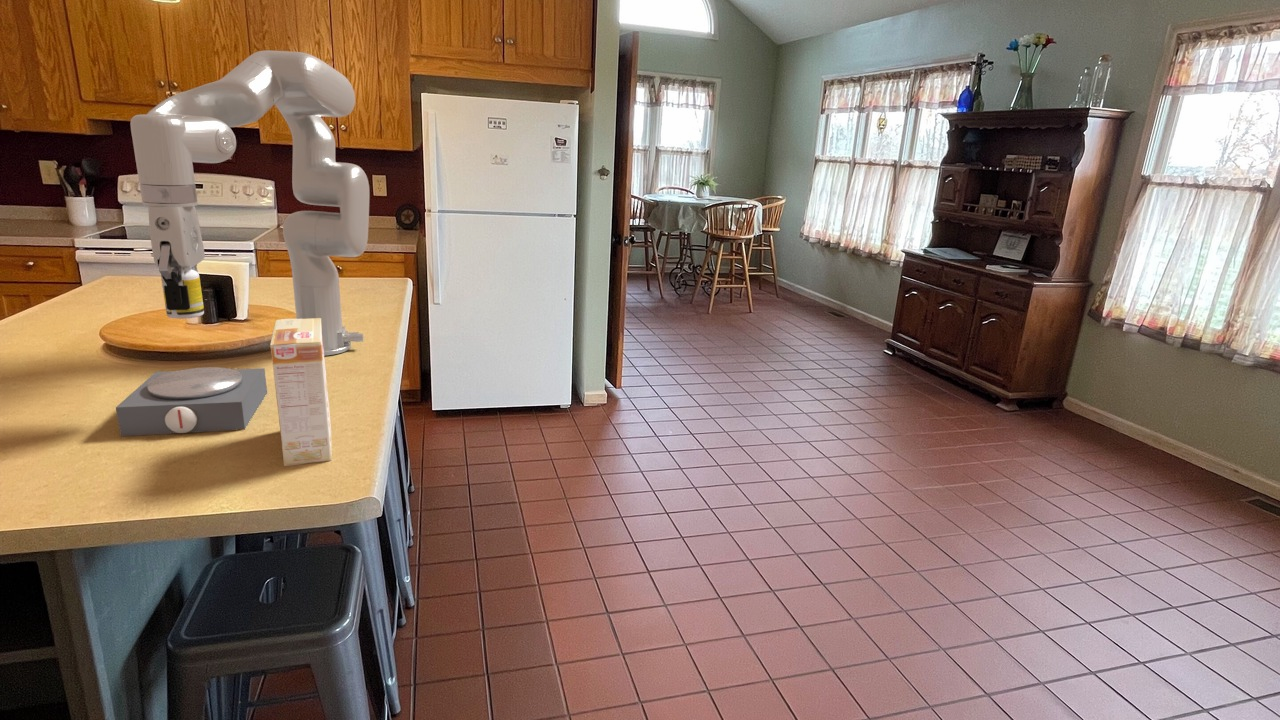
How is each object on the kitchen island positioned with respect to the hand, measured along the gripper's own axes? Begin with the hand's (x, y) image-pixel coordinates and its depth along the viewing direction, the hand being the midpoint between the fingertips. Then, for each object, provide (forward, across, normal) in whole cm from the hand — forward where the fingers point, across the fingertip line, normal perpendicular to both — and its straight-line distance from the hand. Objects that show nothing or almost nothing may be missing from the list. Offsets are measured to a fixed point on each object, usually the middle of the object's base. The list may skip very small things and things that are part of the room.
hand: (184, 304), depth 118 cm
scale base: (+20, 0, 0) cm, 20 cm away
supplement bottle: (+2, 0, 0) cm, 2 cm away
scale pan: (+15, 0, 0) cm, 15 cm away
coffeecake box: (+20, -17, -20) cm, 33 cm away
